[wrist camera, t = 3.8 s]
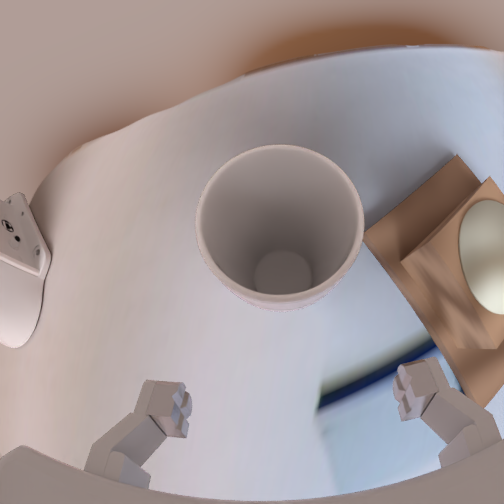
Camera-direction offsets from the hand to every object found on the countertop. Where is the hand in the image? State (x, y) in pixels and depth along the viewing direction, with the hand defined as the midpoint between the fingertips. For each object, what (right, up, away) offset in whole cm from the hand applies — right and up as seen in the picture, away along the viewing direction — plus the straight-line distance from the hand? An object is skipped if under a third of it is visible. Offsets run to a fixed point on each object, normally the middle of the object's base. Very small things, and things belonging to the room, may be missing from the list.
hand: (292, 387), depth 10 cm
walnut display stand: (+21, +2, +13) cm, 25 cm away
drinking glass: (+1, +2, +16) cm, 16 cm away
